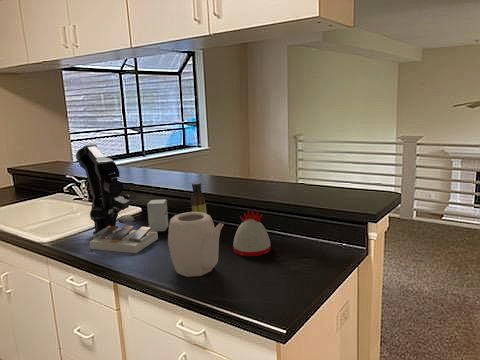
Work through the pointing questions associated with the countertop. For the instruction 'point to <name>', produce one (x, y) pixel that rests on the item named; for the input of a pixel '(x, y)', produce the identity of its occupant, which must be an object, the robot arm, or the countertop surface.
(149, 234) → the switch board
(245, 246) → the kitchen timer
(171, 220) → the watering can
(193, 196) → the sauce bottle
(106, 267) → the countertop surface
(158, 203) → the supplement box
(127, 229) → the rocker
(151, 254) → the countertop surface
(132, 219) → the soupspoon
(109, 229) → the rocker
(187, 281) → the countertop surface
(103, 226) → the robot arm
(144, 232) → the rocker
